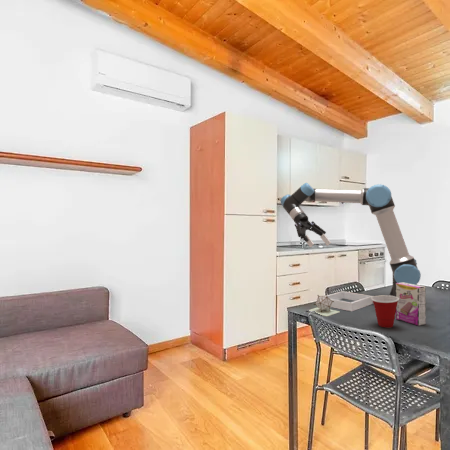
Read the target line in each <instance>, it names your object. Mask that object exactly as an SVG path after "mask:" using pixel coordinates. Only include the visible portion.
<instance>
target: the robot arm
mask: <svg viewBox="0 0 450 450" xmlns="http://www.w3.org/2000/svg"><path fill="white" fill-rule="evenodd" d="M305 202H324V203H348V204H360V205H361V206H368V207H369V209H370V212H371V214H372V215H374V216H375V217H376V220H377V222H378V226H379V228H380V231H381V234H382V237H383V239H384V242H385V245H386V247H387V251H388V253H389V256H390V261H389V266H390V269H391V272H392V287H391V290H390V292H389V294H388V295H389V296H395V297H396V283H401V282H404V283H409V284H414V285H418V284H419V283H420V280H421V274H422V273H421V271H420V270H419V268H418V266H417V265H418V263H417V260H416V259H415V258H414V256H412V255H410V253H409V251H408V250H409V249H408V248H407V245H406V243H405V240H404V237H403V234H402V230H401V229H400V226H399V222H398V220H397V218H396V214H395V211H394V209H395V207H396V205H395V201H394V200H393V197H392V191H391V189H390V187H388V186H386V185H384V184H382V183H380V184H379V183H378V184H374V185H372V186H370V187H364V188H362V189H343V188H342V189H341V188H340V189H339V188H337V189H336V188H313V187H312V186H311V185H310V183H308V182H305V183H303V184H302V185H301V186H300V187H299V188H298V189H297V190H295V191H294V192H293V193H292V194H285V195H283V196H282V197H281V199H280V202H279V203H280V204H281V206H282V208H283V209H284V210H285V212H286V213H287V214H288V215H289V217H290V218H291V219H292V221H293V222H294V226H295V229H296V232H297V237H299V238H300V239H301V240H302V239H303V240H304V241H305V242H306V244H307V245H308V246H309V248H312V247H313V246H314V245H315V243H314V242H313V241H312V239H311V238H310V236H309V235H308V234H307V233H306V232H307V231H309V232H310V231H311V232H313V233H314V234H316V235H318V236H320V239H321V240H322V241H323V243H324V244H325V245H326V246H327V247H328V246H329V245H330V244H331V243H332V242H331V240H330V239H329V238H328V237H327V236H326V234H327V231H325V230H324V229H322V228H321V227H320V226H319V225H318V224H316V223H315V222H314V221H313V220H312V221H309V216H308V214H306V213H305V211H304V210H303V209H302V208H301V205H302V204H303V203H305Z"/></svg>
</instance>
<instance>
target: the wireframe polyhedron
mask: <svg viewBox="0 0 450 450" xmlns="http://www.w3.org/2000/svg"><path fill="white" fill-rule="evenodd" d="M326 295H328V294H327V293H326V294H325V295H319V294H317V299H316V302H315V303H313V306H316V308H317V307H318V308H319V309H320V310H321V312H322V311H324V310H329V311H330V309H331V308H332V307H331V305H332V302H334V301H332V300H330V299H329V298H328V296H326Z"/></svg>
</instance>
